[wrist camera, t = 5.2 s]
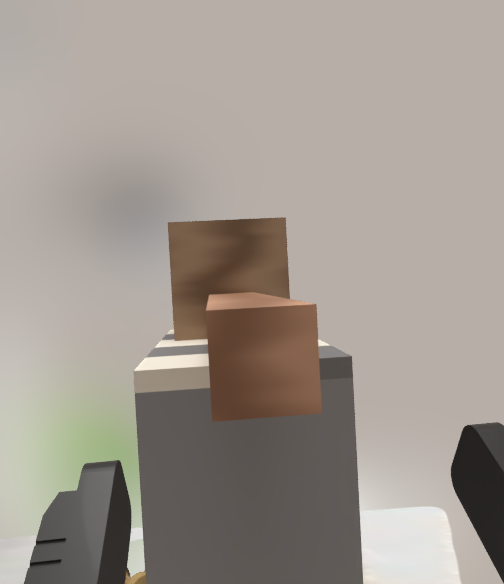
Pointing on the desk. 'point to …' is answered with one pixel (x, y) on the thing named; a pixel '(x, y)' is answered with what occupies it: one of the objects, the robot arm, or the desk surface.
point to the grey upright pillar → (245, 479)
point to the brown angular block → (245, 317)
